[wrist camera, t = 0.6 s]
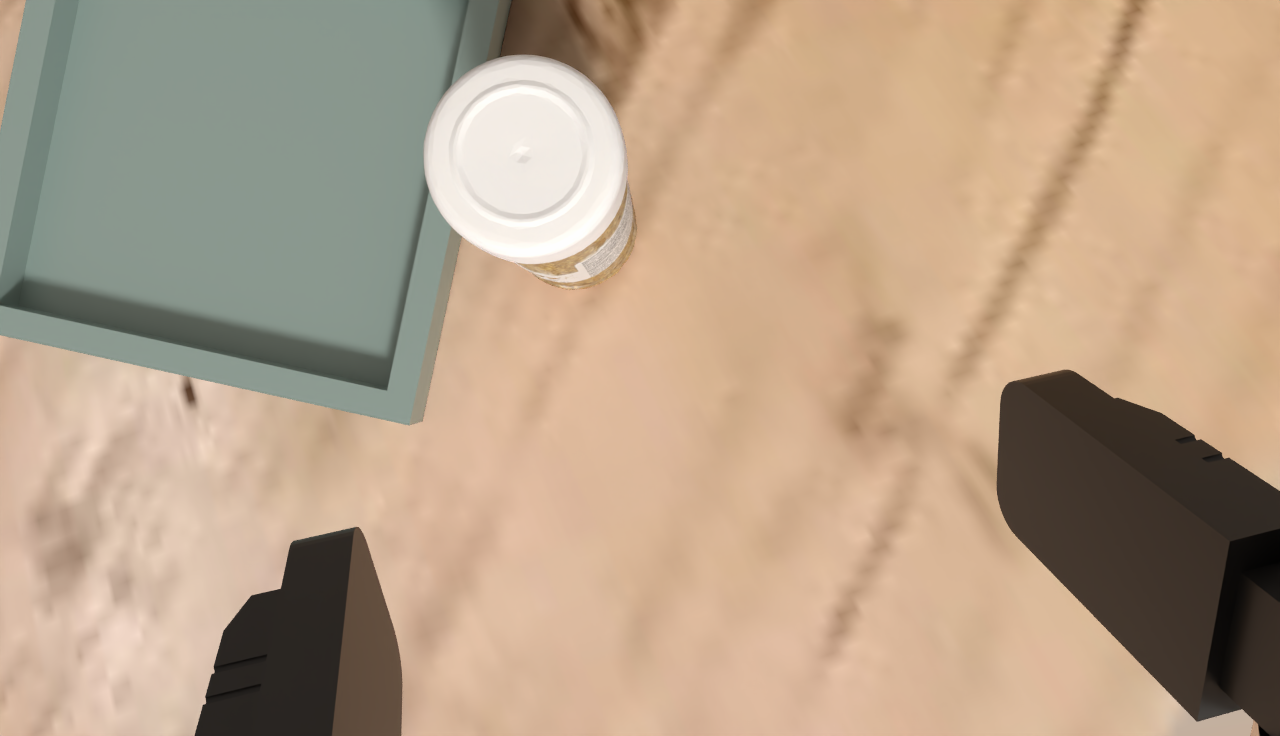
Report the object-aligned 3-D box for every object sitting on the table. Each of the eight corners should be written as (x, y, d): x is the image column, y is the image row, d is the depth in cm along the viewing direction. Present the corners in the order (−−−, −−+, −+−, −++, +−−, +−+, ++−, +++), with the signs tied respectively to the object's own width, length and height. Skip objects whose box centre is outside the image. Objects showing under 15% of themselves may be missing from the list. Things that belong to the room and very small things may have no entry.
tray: (83, -106, 34) (51, -130, 33) (514, -14, 34) (506, -34, 32) (-3, 327, 35) (-39, 326, 33) (422, 421, 35) (409, 425, 33)
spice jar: (487, 237, 34) (375, 168, 21) (567, 138, 34) (506, 5, 21) (585, 317, 34) (535, 299, 21) (665, 219, 34) (667, 137, 21)
